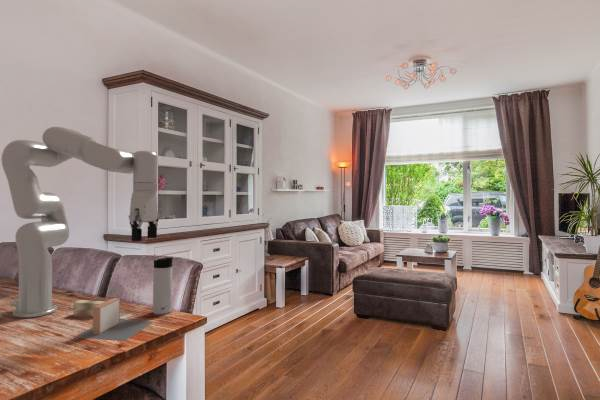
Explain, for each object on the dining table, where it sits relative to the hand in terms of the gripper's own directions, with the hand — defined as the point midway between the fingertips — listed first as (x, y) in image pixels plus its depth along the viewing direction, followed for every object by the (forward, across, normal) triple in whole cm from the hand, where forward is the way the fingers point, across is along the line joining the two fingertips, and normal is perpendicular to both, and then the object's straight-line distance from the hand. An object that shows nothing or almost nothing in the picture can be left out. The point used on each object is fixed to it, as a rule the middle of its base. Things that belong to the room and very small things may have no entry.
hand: (144, 239), depth 126 cm
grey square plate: (+27, +12, -2) cm, 30 cm away
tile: (+26, +12, -5) cm, 29 cm away
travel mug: (+27, -6, +4) cm, 28 cm away
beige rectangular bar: (+27, 0, -15) cm, 31 cm away
